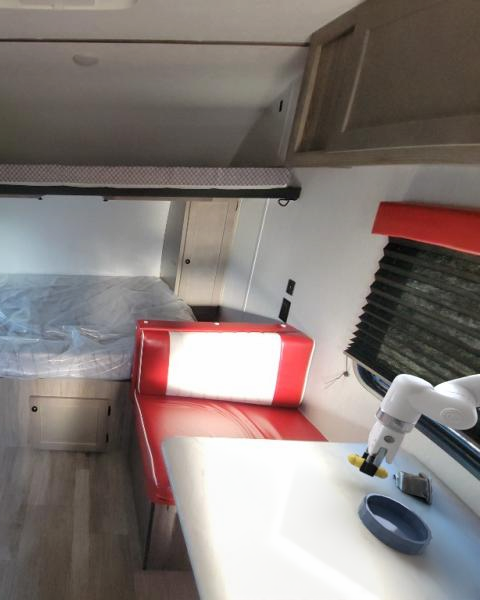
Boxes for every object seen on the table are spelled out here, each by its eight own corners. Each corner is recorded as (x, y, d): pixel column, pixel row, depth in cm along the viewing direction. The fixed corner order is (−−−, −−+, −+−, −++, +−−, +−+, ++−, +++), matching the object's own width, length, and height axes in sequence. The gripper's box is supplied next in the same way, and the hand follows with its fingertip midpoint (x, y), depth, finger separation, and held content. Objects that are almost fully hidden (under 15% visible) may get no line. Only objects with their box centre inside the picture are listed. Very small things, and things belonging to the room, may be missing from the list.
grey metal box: (390, 465, 104) (395, 457, 96) (422, 472, 100) (430, 464, 92) (392, 498, 100) (398, 493, 92) (425, 507, 96) (435, 503, 88)
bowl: (420, 526, 85) (428, 515, 83) (427, 567, 75) (436, 556, 74) (358, 494, 92) (364, 484, 90) (357, 528, 82) (364, 517, 81)
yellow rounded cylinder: (385, 476, 94) (389, 468, 93) (385, 483, 92) (390, 475, 90) (346, 458, 99) (350, 450, 98) (346, 463, 97) (350, 456, 96)
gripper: (417, 443, 80) (383, 496, 87) (410, 411, 92) (381, 460, 99) (377, 426, 84) (348, 479, 91) (376, 398, 97) (350, 446, 103)
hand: (366, 469), depth 95 cm, fingers closed on yellow rounded cylinder, 3 cm apart
